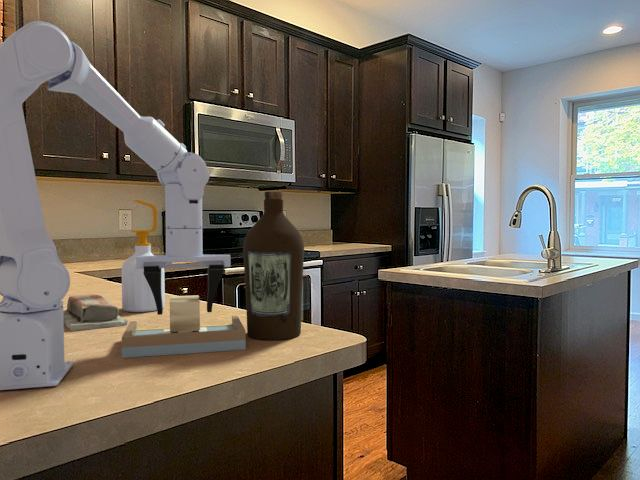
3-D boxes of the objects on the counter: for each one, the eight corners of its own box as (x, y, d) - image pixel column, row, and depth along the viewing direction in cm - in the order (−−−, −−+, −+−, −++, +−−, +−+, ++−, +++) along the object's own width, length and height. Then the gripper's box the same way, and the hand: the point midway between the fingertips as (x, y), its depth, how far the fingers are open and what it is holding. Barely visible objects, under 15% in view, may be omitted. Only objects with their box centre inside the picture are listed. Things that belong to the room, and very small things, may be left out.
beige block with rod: (200, 337, 78) (199, 301, 78) (170, 339, 77) (169, 303, 77) (198, 327, 86) (198, 294, 86) (171, 328, 85) (171, 295, 85)
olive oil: (251, 327, 94) (250, 193, 92) (307, 328, 92) (307, 193, 91) (236, 340, 83) (235, 190, 82) (299, 342, 82) (299, 190, 81)
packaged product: (56, 295, 104) (107, 291, 110) (57, 318, 105) (107, 313, 110) (70, 307, 90) (128, 302, 95) (70, 334, 90) (128, 327, 95)
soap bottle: (121, 307, 114) (119, 200, 113) (162, 304, 118) (160, 200, 117) (123, 314, 106) (121, 198, 105) (167, 310, 110) (166, 199, 109)
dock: (245, 349, 77) (245, 330, 77) (121, 357, 73) (121, 337, 73) (237, 332, 89) (237, 315, 89) (130, 338, 84) (130, 321, 84)
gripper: (227, 227, 86) (228, 306, 86) (138, 228, 82) (139, 310, 83) (231, 228, 79) (232, 313, 80) (134, 228, 75) (135, 318, 76)
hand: (185, 312), depth 81 cm, fingers open, 7 cm apart
